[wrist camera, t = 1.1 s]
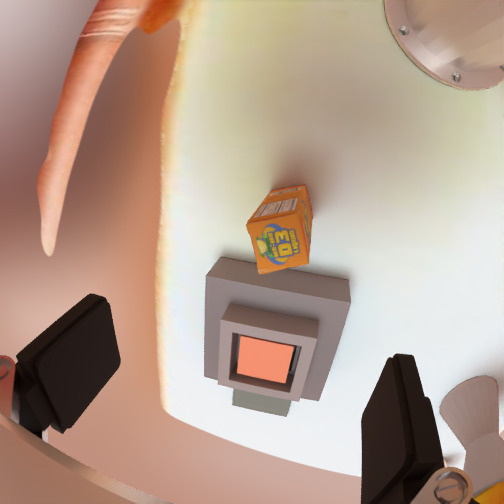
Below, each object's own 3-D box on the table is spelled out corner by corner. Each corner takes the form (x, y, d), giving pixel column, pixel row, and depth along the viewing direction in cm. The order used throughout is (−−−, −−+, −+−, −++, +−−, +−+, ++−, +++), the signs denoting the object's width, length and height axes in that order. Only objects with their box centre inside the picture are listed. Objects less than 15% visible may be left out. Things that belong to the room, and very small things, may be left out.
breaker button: (249, 316, 28) (240, 335, 25) (297, 325, 27) (293, 346, 25) (244, 352, 30) (237, 373, 27) (289, 361, 29) (285, 383, 26)
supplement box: (317, 219, 27) (311, 270, 18) (277, 226, 28) (252, 278, 19) (309, 181, 26) (299, 212, 17) (269, 189, 27) (237, 223, 18)
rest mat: (236, 364, 35) (235, 367, 34) (297, 377, 34) (296, 380, 33) (233, 402, 37) (232, 405, 37) (287, 413, 36) (286, 416, 36)
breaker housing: (220, 256, 30) (194, 289, 24) (348, 280, 28) (352, 320, 22) (215, 353, 35) (196, 392, 29) (321, 374, 33) (316, 419, 27)
